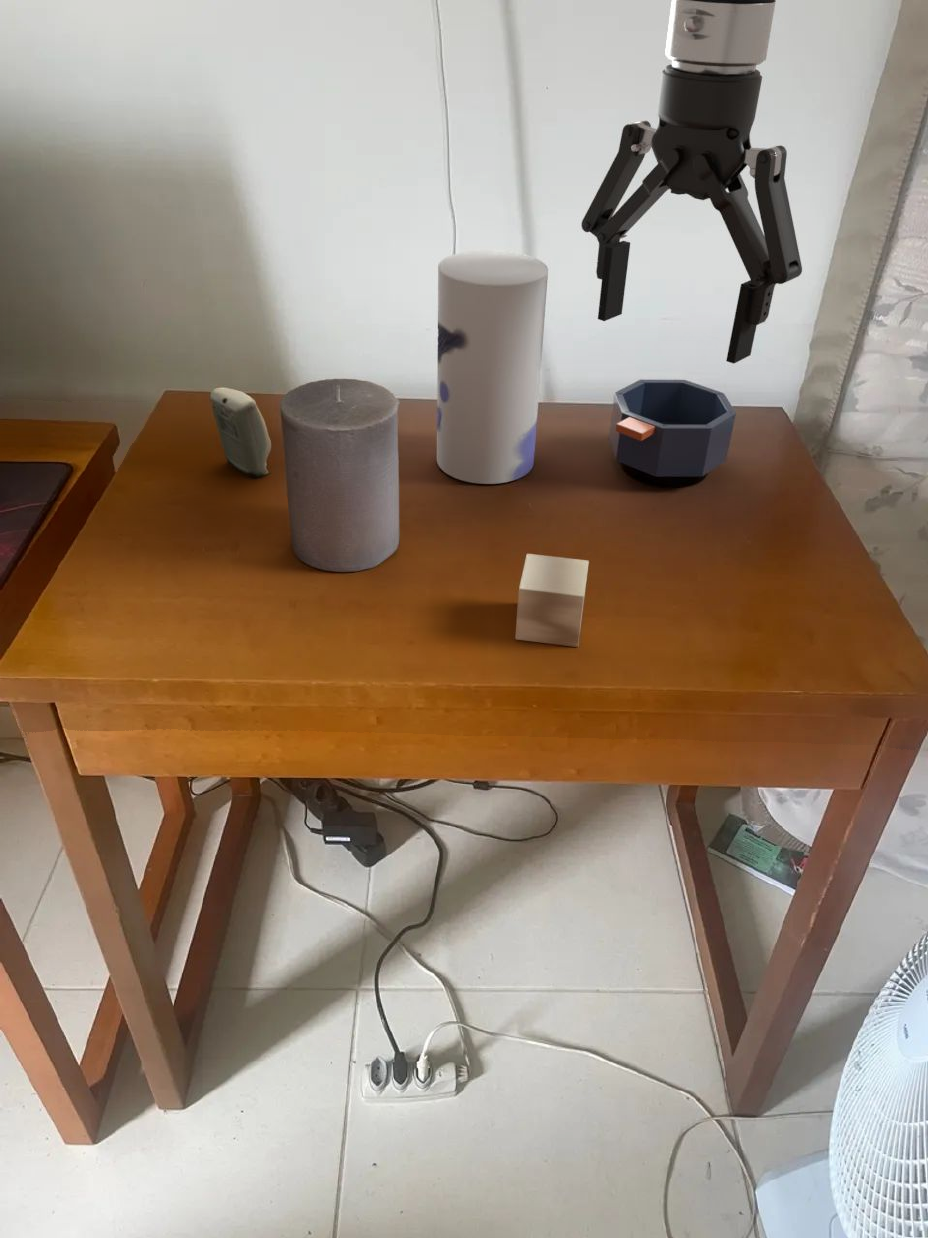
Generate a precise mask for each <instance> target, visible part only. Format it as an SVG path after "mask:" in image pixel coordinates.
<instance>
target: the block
mask: <svg viewBox="0 0 928 1238" xmlns="http://www.w3.org/2000/svg"><path fill="white" fill-rule="evenodd" d="M589 565H590V561H589V560H587V559H586V560H585V559H579V558H570V557H561V556H552V555H542V554H535V553H526V555H525V559H524V564H523V568H522V573H521V578H520V582H519V587H518V592H517V593H518V594H517V609H516V623H515V635H514V636H515V637H514V639H515V640H517V641H526V642H534V643H540V644H541V643H542V644H547V645H548V644H549V645H557V646H564V647H573V648H578V647H579V644H580V636H581V628H582V620H583V614H584V613H583V611H584V607H585V606H584V604H585V598H586V597H585V596H586V588H587V580H588V573H589V572H588V571H589Z"/></svg>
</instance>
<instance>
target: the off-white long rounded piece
mask: <svg viewBox="0 0 928 1238" xmlns="http://www.w3.org/2000/svg"><path fill="white" fill-rule="evenodd" d="M209 401H210V404H211V409H212V413H213V416H214V419H215V423H216V428H217V430H218V435H219V438H220V443H221V446H222V450H223V453H224V455H225V458H226V460H227V464H228V466H230V467H232V468H234V469H235V470H237V471H239V472H240V473H242V474H243V475H245V476H246V477H247V476H248V477H249V478H252V479H253V478H254V479H256V478H260V477H264V476H265V475H267V474H268V473H269V470H268V469H267V465H268V463H267V459H268V457H269V455H270V452H271V450H272V442H271V438H270V436H269V432H268V428H267V425H266V421H265V419H264V417H263V415H262V413H261V411H260V409H259V407H258V405H257V403H256V400H255V399H254V398H253V397H251V396H250V395H248V394H246V393H245V392H243V391H240V390H237V389H234V388H229V387H215V388H213V389H212V390H211V392H210V395H209Z"/></svg>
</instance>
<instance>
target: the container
mask: <svg viewBox="0 0 928 1238" xmlns="http://www.w3.org/2000/svg"><path fill="white" fill-rule="evenodd" d="M548 278H549V268H548V266H547V265H546V263H544V262H543V261H542V260H540V259H539V258H536V257H533V256H531V255H528V254H524V253H520V252H515V251H508V250H498V249H495V250H493V249H480V250H470V251H463V252H458V253H454V254H451V255H449V256H447V257H444V258H443V259H442V260H440V262H438V265H437V360H436V361H437V364H436V365H437V370H436V371H437V373H436V374H437V376H436V377H437V378H436V379H437V380H436V381H437V383H436V384H437V385H436V387H437V388H436V413H437V414H436V430H437V431H436V463H437V465H438V468H440V469H441V471H443V473H445V474H446V475H448V476H450V477H452V478H454V479H457V480H460V481H461V482H466V483H471V484H480V485H496V484H504V483H509V482H512V481H515V480H519V479H521V478H522V477H524V476H526V475H527V474H529V473H530V472H531V471H532V470H533V467H534V465H535V451H536V439H537V425H538V423H537V422H538V414H539V413H538V412H539V398H540V384H541V371H542V356H543V345H544V330H545V317H546V316H545V315H546V306H547V305H546V303H547V290H548Z"/></svg>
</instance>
